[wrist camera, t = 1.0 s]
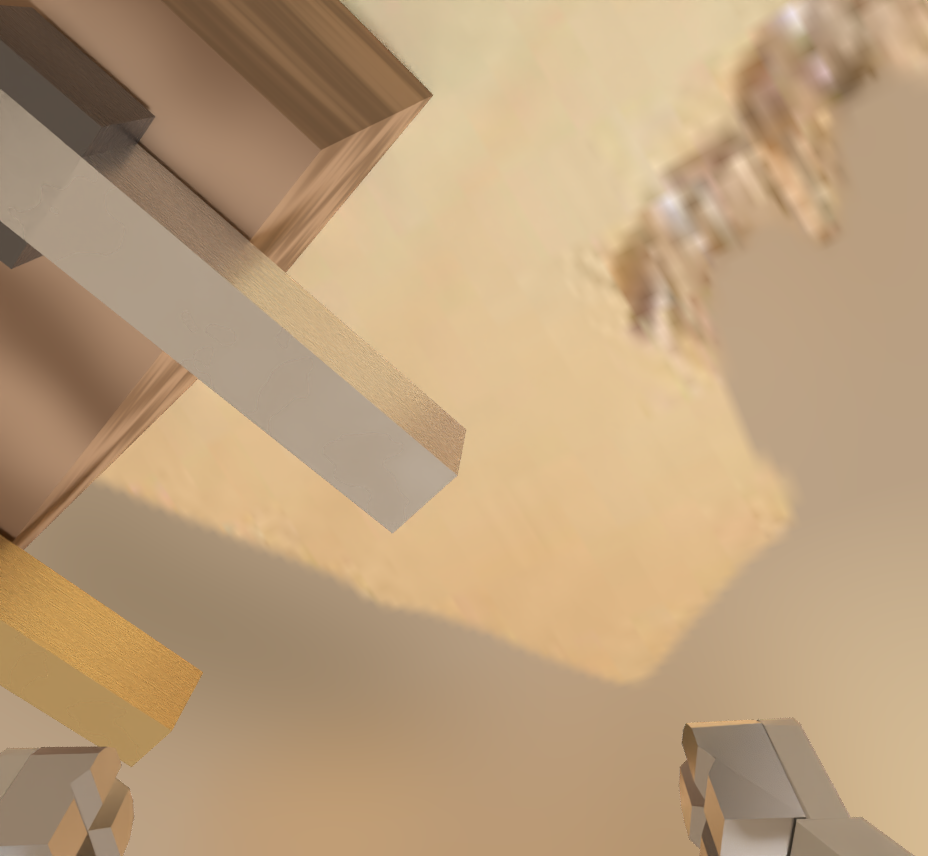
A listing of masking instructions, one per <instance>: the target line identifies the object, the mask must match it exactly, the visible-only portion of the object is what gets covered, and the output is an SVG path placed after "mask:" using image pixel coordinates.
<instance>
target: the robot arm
mask: <svg viewBox="0 0 928 856" xmlns="http://www.w3.org/2000/svg"><path fill="white" fill-rule="evenodd" d="M682 746H683V749H684V752H685V755H686V758H687V760H686V761H685V762H684V763H683V764H682V765H681V767H680V774H679V775H680V776H679V791H680V802H681V809H682V813H683V819H684V823H685V826H686V830H687V833H688V837H689V839H690V840H691V841H692V842H693V843H694V844H695V845H696V846H697V847H699V849H700V856H914V855H913V854H911V853H910V852H909V851H907V850H906V849H904V848H903V847H902V846H900V845H899V844H898V843H896V842H895V841H894V840H892V839H891V838H890V837H888V836H887V835H885V834H884V833H883V832H881V831H880V830H879V829H877V828H876V827H875V826H873V825H872V824H871V823H869V822H868V821H867V820H865V819H864V818H862V817H850V815H849V813H848V812H847V810H846V808H845V806H844V804H843V802H842V800H841V798H840V797H839V795H838V793H837V791H836V789H835V788H834V786H833V784H832V782H831V780H830V778H829V776H828V774H827V773H826V771H825V769H824V767H823V765H822V763H821V761H820V760H819V758H818V756H817V754H816V752H815V751H814V748H813V747H812V745H811V744H810V741H809V739H808V737H807V736H806V734H805V732H804V730H803V728H802V726H801V724H800V723H799V722H798V721H797V720H795V719H794V718H777V719H758V720H734V721H714V722H696V723H686V724H685V726H684V729H683V736H682ZM121 766H122V764H121V761H120V758H119V756H118V753H117V751H116V748H112V747H41V748H8V749H6V750H4V751H3V752H1V753H0V856H123V855H124V852H125V850H126V848H127V845H128V843H129V840H130V836H131V831H132V826H133V821H134V804H133V798H132V795H131V791H130V788H129V787H128V786H126V785H125V784H124V783H122V782H121V781H120V780H119V779H117V778H116V776H117V774H118V772H119V770H120V768H121Z"/></svg>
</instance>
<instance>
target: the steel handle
mask: <svg viewBox="0 0 928 856" xmlns="http://www.w3.org/2000/svg"><path fill="white" fill-rule="evenodd" d="M154 118H155V116H154V115H153V114H152V113H151V112H150V111H149V110H148V109H146V108H145V107H144V106H143V105H142V104H141V103H140V102H139V101H137V100H136V99H135V98H134V97H133V96H132V95H131V94H130V93H128V92H127V91H126V90H125V89H124V88H123V87H122V86H121V85H119V84H118V83H117V82H116V81H115V80H114V79H113V78H111V77H110V76H109V75H108V74H107V73H106V72H105V71H104V70H102V69H101V68H100V67H99V66H98V65H97V64H96V63H95V62H93V61H92V60H91V59H90V58H89V57H88V56H87V55H86V54H84V53H83V52H82V51H81V50H80V49H79V48H78V47H77V46H75V45H74V44H73V43H72V42H71V41H70V40H69V39H68V38H66V37H65V36H64V35H63V34H62V33H61V32H60V31H59V30H57V29H56V28H55V27H54V26H53V25H52V24H51V23H49V22H48V21H47V20H46V19H45V18H44V17H43V16H42V15H40V14H39V13H38V12H37V11H36V10H35V9H34V8H33V7H20V6H6V5H0V261H1V262H3V263H4V264H5V265H6V266H8V267H9V268H10V269H13V268H15V267H18V266H20V265H22V264H25V263H27V262H29V261H32V260H34V259H36V258H39V257H41V256H43V255H44V256H45V257H46V258H47V259H49V260H50V261H51V262H52V263H54V264H55V265H56V266H57V267H59V268H60V269H61V270H62V271H64V272H65V273H66V274H67V275H69V276H70V277H71V278H73V279H74V280H75V281H76V282H78V283H79V284H80V285H81V286H83V287H84V288H85V289H86V290H88V291H89V292H90V293H91V294H93V295H94V296H95V297H96V298H98V299H99V300H100V301H101V302H103V303H104V304H105V305H106V306H108V307H109V308H110V309H111V310H113V311H114V312H115V313H116V314H118V315H119V316H120V317H121V318H123V319H124V320H125V321H126V322H128V323H129V324H130V325H132V326H133V327H134V328H135V329H137V330H138V331H139V332H140V333H142V334H143V335H144V336H145V337H147V338H148V339H149V340H150V341H152V342H153V343H154V344H155V345H157V346H158V347H159V348H160V349H162V350H163V351H164V352H165V353H167V354H168V355H169V356H170V357H172V358H173V359H174V360H175V361H177V362H178V363H179V364H180V365H182V366H183V367H184V368H185V369H187V370H188V371H189V372H190V373H192V374H193V375H194V376H196V377H197V378H198V379H199V380H201V381H202V382H203V383H204V384H206V385H207V386H208V387H209V388H211V389H212V390H213V391H214V392H216V393H217V394H218V395H219V396H221V397H222V398H223V399H224V400H226V401H227V402H228V403H229V404H231V405H232V406H233V407H234V408H236V409H237V410H238V411H239V412H241V413H242V414H243V415H244V416H246V417H247V418H248V419H249V420H251V421H252V422H253V423H255V424H256V425H257V426H258V427H260V428H261V429H262V430H263V431H265V432H266V433H267V434H268V435H270V436H271V437H272V438H273V439H275V440H276V441H277V442H278V443H280V444H281V445H282V446H283V447H285V448H286V449H287V450H288V451H290V452H291V453H292V454H293V455H295V456H296V457H297V458H298V459H300V460H301V461H302V462H303V463H305V464H306V465H307V466H308V467H310V468H311V469H312V470H314V471H315V472H316V473H317V474H319V475H320V476H321V477H322V478H324V479H325V480H326V481H327V482H329V483H330V484H331V485H332V486H334V487H335V488H336V489H337V490H339V491H340V492H341V493H342V494H344V495H345V496H346V497H347V498H349V499H350V500H351V501H352V502H354V503H355V504H356V505H357V506H359V507H360V508H361V509H362V510H364V511H365V512H366V513H367V514H369V515H370V516H371V517H372V518H374V519H375V520H376V521H378V522H379V523H380V524H381V525H383V526H384V527H385V528H386V529H388V530H389V531H390V532H391V533H394V532H395V531H396V530H397V529H398V528H399V527H400V526H401V525H403V524H404V523H405V522H406V521H407V520H408V519H409V518H410V517H412V516H413V515H414V514H415V513H416V512H417V511H418V510H419V509H420V508H422V507H423V506H424V505H425V504H426V503H427V502H428V501H429V500H431V499H432V498H433V497H434V496H435V495H436V494H437V493H438V492H439V491H441V490H442V489H443V488H444V487H445V486H446V485H447V484H448V483H450V482H451V481H452V480H453V479H454V478H455V477H456V476H457V475H458V470H459V464H460V459H461V454H462V449H463V443H464V438H465V433H466V429H465V428H464V427H462V426H461V425H460V424H459V423H458V422H457V421H456V420H454V419H453V418H452V417H451V416H450V415H449V414H447V413H446V412H445V411H444V410H443V409H442V408H441V407H439V406H438V405H437V404H436V403H435V402H434V401H433V400H431V399H430V398H429V397H428V396H427V395H426V394H425V393H423V392H422V391H421V390H420V389H419V388H418V387H416V386H415V385H414V384H413V383H412V382H411V381H410V380H408V379H407V378H406V377H405V376H404V375H403V374H402V373H400V372H399V371H398V370H397V369H396V368H395V367H393V366H392V365H391V364H390V363H389V362H388V361H387V360H385V359H384V358H383V357H382V356H381V355H380V354H379V353H377V352H376V351H375V350H374V349H373V348H372V347H370V346H369V345H368V344H367V343H366V342H365V341H364V340H362V339H361V338H360V337H359V336H358V335H357V334H356V333H354V332H353V331H352V330H351V329H350V328H349V327H348V326H346V325H345V324H344V323H343V322H342V321H341V320H339V319H338V318H337V317H336V316H335V315H334V314H333V313H331V312H330V311H329V310H328V309H327V308H326V307H325V306H323V305H322V304H321V303H320V302H319V301H318V300H316V299H315V298H314V297H313V296H312V295H311V294H310V293H308V292H307V291H306V290H305V289H304V288H303V287H302V286H300V285H299V284H298V283H297V282H296V281H295V280H293V279H292V278H291V277H290V276H289V275H288V274H287V273H285V272H284V271H283V270H282V269H281V268H280V267H279V266H277V265H276V264H275V263H274V262H273V261H272V260H271V259H269V258H268V257H267V256H266V255H265V254H264V253H262V252H261V251H260V250H259V249H258V248H257V247H256V246H254V245H253V244H252V243H251V242H250V241H249V240H248V239H246V238H245V237H244V236H243V235H242V234H241V233H239V232H238V231H237V230H236V229H235V228H234V227H233V226H231V225H230V224H229V223H228V222H227V221H226V220H225V219H223V218H222V217H221V216H220V215H219V214H218V213H216V212H215V211H214V210H213V209H212V208H211V207H210V206H208V205H207V204H206V203H205V202H204V201H203V200H202V199H200V198H199V197H198V196H197V195H196V194H195V193H194V192H192V191H191V190H190V189H189V188H188V187H187V186H185V185H184V184H183V183H182V182H181V181H180V180H179V179H177V178H176V177H175V176H174V175H173V174H172V173H171V172H169V171H168V170H167V169H166V168H165V167H164V166H162V165H161V164H160V163H159V162H158V161H157V160H156V159H154V158H153V157H152V156H151V155H150V154H149V153H148V152H146V151H145V150H144V149H143V148H142V147H141V146H139V145H138V142H139V141H140V139H141V138H142V136H143V135H144V133H145V132H146V130H147V129H148V127H149V126H150V124H151V123H152V121H153V120H154Z"/></svg>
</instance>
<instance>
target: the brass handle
mask: <svg viewBox="0 0 928 856" xmlns="http://www.w3.org/2000/svg"><path fill="white" fill-rule="evenodd" d="M202 674H203V672H202V671H200V670H199V669H197V668H196V667H194V666H193V665H191V664H190V663H189V662H187V661H186V660H184V659H183V658H181V657H180V656H178V655H177V654H175V653H174V652H172V651H171V650H169V649H168V648H166V647H165V646H164V645H162V644H161V643H159V642H158V641H156V640H155V639H153V638H152V637H150V636H149V635H147V634H146V633H144V632H143V631H141V630H140V629H138V628H137V627H136V626H134V625H133V624H131V623H130V622H128V621H127V620H125V619H124V618H122V617H121V616H119V615H117V613H115V612H114V611H112V610H111V609H109V608H108V607H106V606H105V605H103V604H102V603H100V602H99V601H97V600H96V599H94V598H93V597H91V596H90V595H89V594H87V593H86V592H84V591H82V590H81V589H79V588H78V587H77V586H75V585H74V584H72V583H71V582H69V581H68V580H66V579H65V578H64V577H62V576H61V575H59V574H58V573H56V572H55V571H53V570H52V569H50V568H49V567H47V566H46V565H44V564H43V563H41V562H40V561H39V560H37V559H35V558H34V557H33V556H31V555H30V554H28V553H27V552H25V551H24V550H22V549H21V548H19V547H18V546H16V545H15V544H14V543H12V542H11V541H9V540H8V539H6V538H5V537H3V536H2V535H0V685H1V686H2V687H4V688H6V689H7V690H9V691H10V692H12V693H13V694H15V695H17V696H18V697H20V698H22V699H23V700H25V701H27V702H28V703H30V704H31V705H33V706H34V707H36V708H38V709H39V710H41V711H42V712H44V713H46V714H47V715H49V716H51V717H52V718H54V719H55V720H57V721H59V722H60V723H62V724H63V725H65V726H67V727H68V728H70V729H71V730H73V731H75V732H76V733H78V734H80V735H81V736H82V737H84V738H86V739H87V740H89V741H91V742H92V743H94V744H95V745H97V746H99V747H112V748H116V751H117V753H118V756H119V758H120V760H121V761H123V762H124V763H126V764H128V765H129V766H131V767H132V766H133V765H134V764H135V763H137V761H139V760H140V759H141V758H142V757H143V756H144V755H145V754H147V753H148V752H149V751H150V750H151V749H152V748H153V747H154V746H155V745H157V744H158V743H159V742H160V741H161V740H162V739H163V738H164V737H166V736H167V735H168V734H169V733H170V732H171V731H172V729H173V728H174V725H175V724H176V722H177V720H178V718H179V716H180V715H181V713H182V711H183V709H184V707H185V705H186V703H187V701H188V700H189V698H190V696H191V694H192V692H193V690H194V688H195V687H196V685H197V683H198V681H199V679H200V677H201V675H202Z"/></svg>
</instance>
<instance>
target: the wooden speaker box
mask: <svg viewBox="0 0 928 856" xmlns="http://www.w3.org/2000/svg"><path fill="white" fill-rule="evenodd" d="M0 5H6V6H20V7H33V8H34V9H35V10H36V11H37V12H38V13H39V14H40V15H42V16H43V17H44V18H45V19H46V20H47V21H48V22H49V23H51V24H52V25H53V26H54V27H55V28H56V29H57V30H59V31H60V32H61V33H62V34H63V35H64V36H65V37H66V38H68V39H69V40H70V41H71V42H72V43H73V44H74V45H75V46H77V47H78V48H79V49H80V50H81V51H82V52H83V53H84V54H86V55H87V56H88V57H89V58H90V59H91V60H92V61H93V62H95V63H96V64H97V65H98V66H99V67H100V68H101V69H102V70H104V71H105V72H106V73H107V74H108V75H109V76H110V77H111V78H113V79H114V80H115V81H116V82H117V83H118V84H119V85H121V86H122V87H123V88H124V89H125V90H126V91H127V92H128V93H130V94H131V95H132V96H133V97H134V98H135V99H136V100H137V101H139V102H140V103H141V104H142V105H143V106H144V107H145V108H146V109H148V110H149V111H150V112H151V113H152V114H153V115H154V116H155V118H154V120H153V121H152V123H151V124H150V126H149V127H148V129H147V130H146V132H145V133H144V135H143V136H142V138H141V139H140V141H139V142H138V145H139V146H141V147H142V148H143V149H144V150H145V151H146V152H148V153H149V154H150V155H151V156H152V157H153V158H154V159H156V160H157V161H158V162H159V163H160V164H161V165H162V166H164V167H165V168H166V169H167V170H168V171H169V172H171V173H172V174H173V175H174V176H175V177H176V178H177V179H179V180H180V181H181V182H182V183H183V184H184V185H185V186H187V187H188V188H189V189H190V190H191V191H192V192H194V193H195V194H196V195H197V196H198V197H199V198H200V199H202V200H203V201H204V202H205V203H206V204H207V205H208V206H210V207H211V208H212V209H213V210H214V211H215V212H216V213H218V214H219V215H220V216H221V217H222V218H223V219H225V220H226V221H227V222H228V223H229V224H230V225H231V226H233V227H234V228H235V229H236V230H237V231H238V232H239V233H241V234H242V235H243V236H244V237H245V238H246V239H248V240H249V241H250V242H251V243H252V244H253V245H254V246H256V247H257V248H258V249H259V250H260V251H261V252H262V253H264V254H265V255H266V256H267V257H268V258H269V259H271V260H272V261H273V262H274V263H275V264H276V265H277V266H279V267H280V268H281V269H282V270H283V271H284V272H285V273H286V272H287V270H288V269H289V268H290V267H291V266H292V264H293V263H294V262H295V261H296V260H297V258H298V257H299V256H300V255H301V254H302V252H303V251H304V250H305V249H306V248H307V246H308V245H309V244H310V243H311V242H312V240H313V239H314V238H315V237H316V236H317V234H318V233H319V232H320V231H321V230H322V228H323V227H324V226H325V225H326V224H327V222H328V221H329V220H330V219H331V217H332V216H333V215H334V214H335V213H336V211H337V210H338V209H339V208H340V207H341V205H342V204H343V203H344V202H345V201H346V199H347V198H348V197H349V196H350V195H351V193H352V192H353V191H354V190H355V189H356V187H357V186H358V185H359V184H360V183H361V181H362V180H363V179H364V178H365V177H366V175H367V174H368V173H369V172H370V171H371V169H372V168H373V167H374V166H375V165H376V163H377V162H378V161H379V160H380V159H381V157H382V156H383V155H384V154H385V153H386V151H387V150H388V149H389V148H390V147H391V145H392V144H393V143H394V142H395V141H396V139H397V138H398V137H399V136H400V135H401V133H402V132H403V131H404V130H405V128H406V127H407V126H408V125H409V124H410V122H411V121H412V120H413V119H414V118H415V116H416V115H417V114H418V113H419V112H420V110H421V109H422V108H423V107H424V106H425V104H426V103H427V102H428V101H429V100H430V98H431V97H432V96H433V95H432V94H431V93H430V92H429V91H428V90H427V89H426V88H425V87H424V86H423V85H422V84H421V83H420V82H419V81H418V79H417V78H416V77H415V76H414V75H413V74H412V73H411V72H410V71H409V70H408V69H407V68H406V67H405V66H404V65H403V64H402V63H401V62H400V61H399V60H398V59H397V58H396V57H395V56H394V55H393V54H392V53H391V52H390V51H389V50H388V49H387V48H386V47H385V46H384V45H383V44H382V43H381V42H380V41H379V40H378V39H377V38H376V37H375V36H374V35H373V34H372V33H371V32H370V31H369V30H368V29H367V28H366V27H365V26H364V25H363V24H362V23H361V22H360V21H359V20H358V19H357V18H356V17H355V16H354V15H353V14H352V13H351V12H350V11H349V10H348V9H347V8H346V7H345V6H344V5H343V4H342V3H341V2H340V1H339V0H0ZM197 379H198V378H197V377H196V376H194V375H193V374H192V373H190V372H189V371H188V370H187V369H185V368H184V367H183V366H182V365H180V364H179V363H178V362H177V361H175V360H174V359H173V358H172V357H170V356H169V355H168V354H167V353H165V352H164V351H163V350H162V349H160V348H159V347H158V346H157V345H155V344H154V343H153V342H152V341H150V340H149V339H148V338H147V337H145V336H144V335H143V334H142V333H140V332H139V331H138V330H137V329H135V328H134V327H133V326H132V325H130V324H129V323H128V322H126V321H125V320H124V319H123V318H121V317H120V316H119V315H118V314H116V313H115V312H114V311H113V310H111V309H110V308H109V307H108V306H106V305H105V304H104V303H103V302H101V301H100V300H99V299H98V298H96V297H95V296H94V295H93V294H91V293H90V292H89V291H88V290H86V289H85V288H84V287H83V286H81V285H80V284H79V283H78V282H76V281H75V280H74V279H73V278H71V277H70V276H69V275H67V274H66V273H65V272H64V271H62V270H61V269H60V268H59V267H57V266H56V265H55V264H54V263H52V262H51V261H50V260H49V259H47V258H46V257H45V256H44V255H43V256H41V257H39V258H36V259H34V260H32V261H29V262H27V263H25V264H22V265H20V266H18V267H15V268H13V269H10V268H9V267H8V266H6V265H5V264H4V263H3V262H1V261H0V535H2V536H3V537H5V538H6V539H8V540H9V541H11V542H12V543H14V544H15V545H16V546H18V547H19V548H21V549H22V550H24V549H25V548H26V547H27V546H28V545H29V544H30V543H31V542H32V541H33V540H34V539H35V538H36V537H37V536H38V535H39V534H40V533H41V532H42V531H43V530H44V529H46V528H47V526H49V525H50V524H51V522H53V521H54V520H55V519H56V518H57V517H58V516H59V515H60V514H61V513H62V512H63V511H64V509H66V508H67V507H68V506H69V505H70V504H71V503H72V502H73V501H74V500H75V499H76V498H77V497H78V496H79V495H80V494H81V493H82V492H83V491H84V490H85V489H86V488H87V487H88V486H89V485H90V484H91V483H92V482H93V481H94V480H95V479H96V478H97V477H98V476H99V475H100V474H101V473H103V472H104V471H105V470H106V469H107V468H108V467H109V466H110V465H111V464H112V463H113V462H114V461H115V460H116V459H117V458H118V457H119V456H120V455H121V454H122V453H123V452H124V451H125V450H126V449H127V448H128V447H129V446H130V445H131V444H132V443H133V442H134V441H135V440H136V439H137V438H138V437H139V436H140V435H141V434H142V433H143V432H144V431H145V430H146V429H147V428H148V427H149V426H150V425H151V424H152V423H153V422H154V421H155V420H156V419H157V418H158V417H159V416H160V415H161V414H163V413H164V412H165V411H166V410H167V409H168V408H169V407H170V406H171V405H172V404H173V403H174V402H175V401H176V400H177V399H178V398H179V397H180V396H181V395H182V394H183V393H184V392H185V391H186V390H187V389H188V388H189V387H190V386H191V385H192V384H193V383H194V382H195V381H196V380H197Z"/></svg>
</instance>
